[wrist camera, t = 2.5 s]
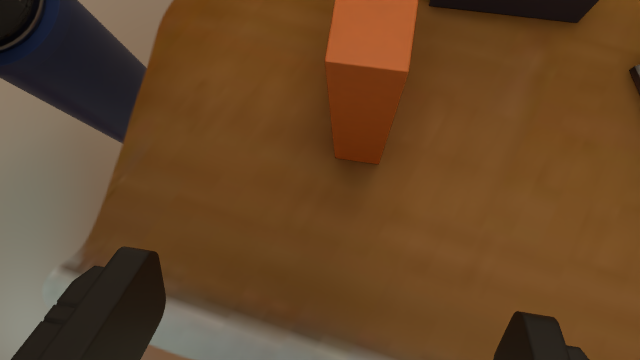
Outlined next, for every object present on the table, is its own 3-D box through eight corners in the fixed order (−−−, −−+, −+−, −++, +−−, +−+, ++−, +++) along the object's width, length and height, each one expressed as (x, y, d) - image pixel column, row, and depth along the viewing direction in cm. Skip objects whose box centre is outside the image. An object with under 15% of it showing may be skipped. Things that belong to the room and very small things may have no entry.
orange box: (334, 158, 37) (324, 61, 19) (360, -2, 39) (371, -219, 22) (378, 164, 37) (408, 72, 19) (401, 2, 39) (447, -213, 21)
